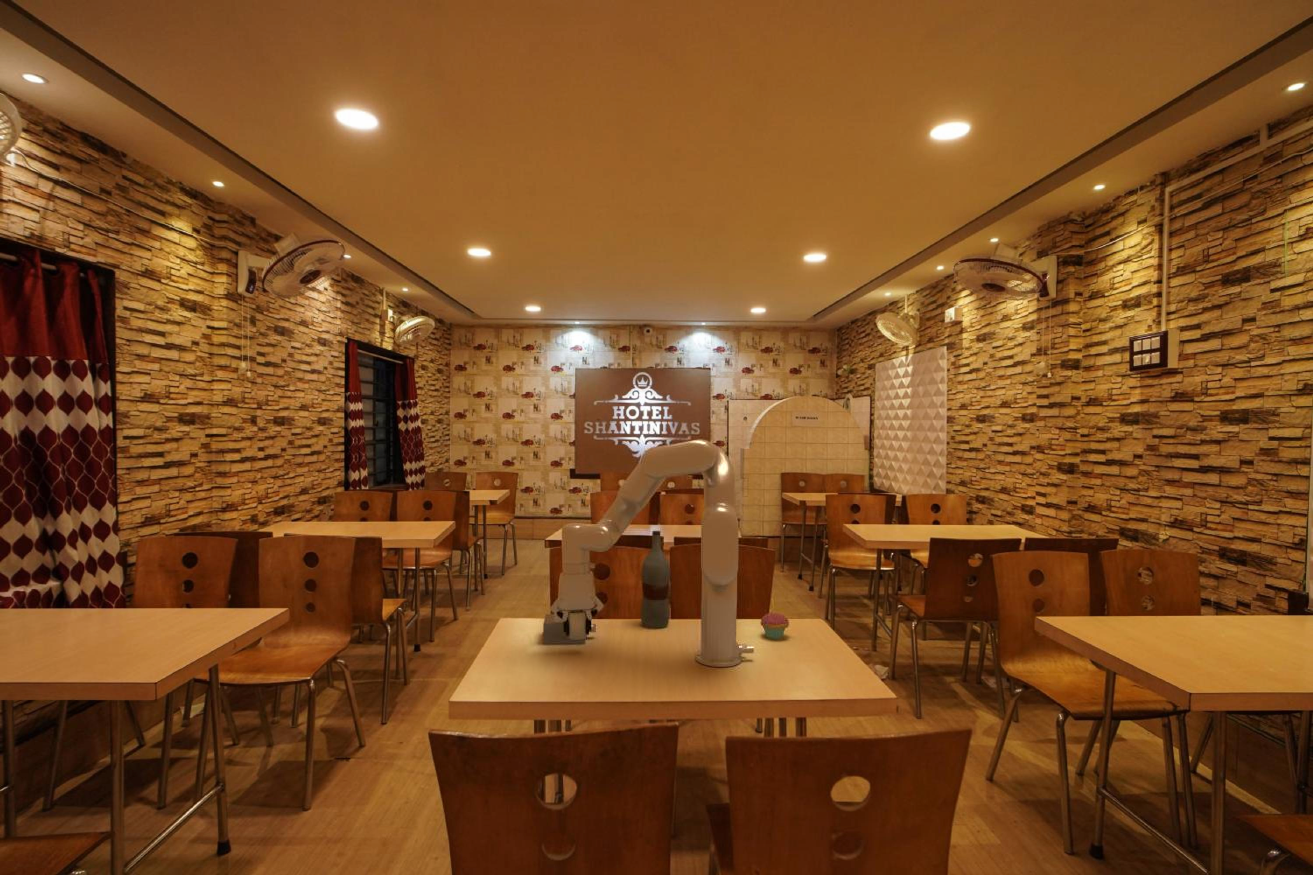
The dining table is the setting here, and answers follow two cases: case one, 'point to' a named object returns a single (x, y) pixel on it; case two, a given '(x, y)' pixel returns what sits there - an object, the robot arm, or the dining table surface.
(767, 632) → the cupcake
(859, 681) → the dining table surface
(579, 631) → the toy camera lens
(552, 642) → the box with side knob
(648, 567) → the bottle
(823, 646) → the dining table surface
